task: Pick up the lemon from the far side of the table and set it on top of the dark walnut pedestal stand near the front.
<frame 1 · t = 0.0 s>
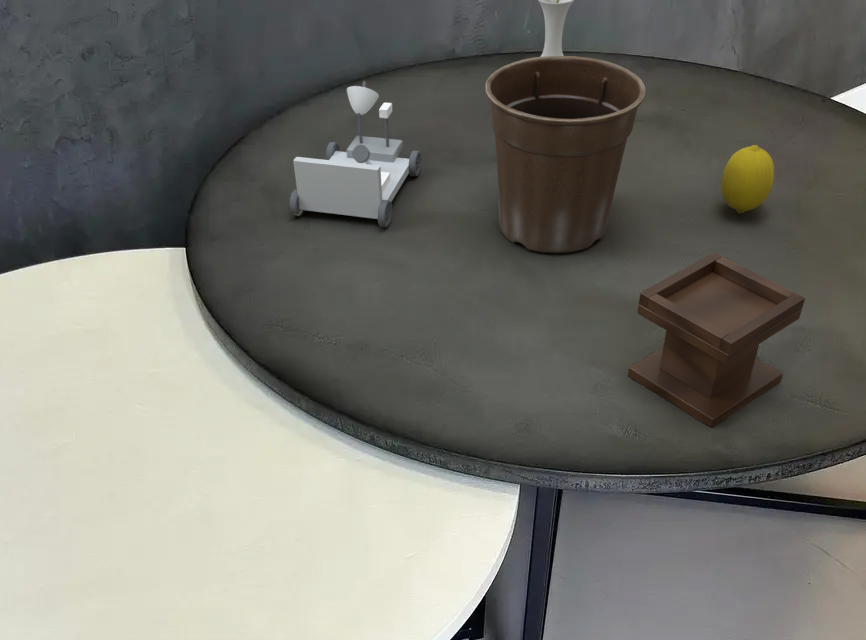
flower in vase: (550, 107, 135), on the table
lemon: (739, 214, 114), on the table
plant pot: (554, 228, 113), on the table
stand: (703, 378, 93), on the table
grey toy rover: (362, 190, 120), on the table
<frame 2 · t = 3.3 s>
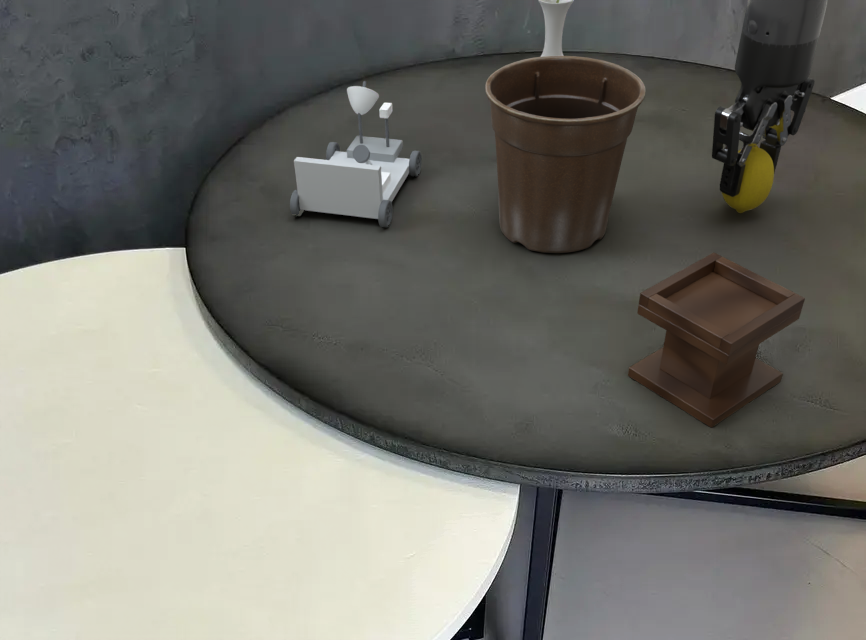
hand: (746, 183, 111), 4 cm above the table, tool pointing down, fingers closed on lemon, 5 cm apart
lemon: (739, 214, 114), on the table, touching gripper
everything else where it was.
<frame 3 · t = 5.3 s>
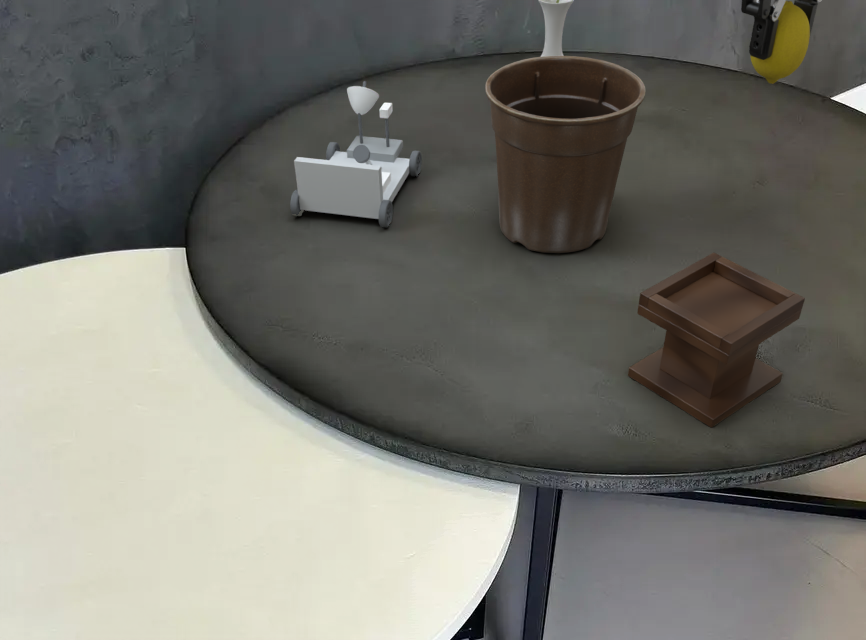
hand: (779, 47, 100), 18 cm above the table, tool pointing down, fingers closed on lemon, 5 cm apart
lemon: (770, 85, 103), point 15 cm above the table, touching gripper
everything else where it was.
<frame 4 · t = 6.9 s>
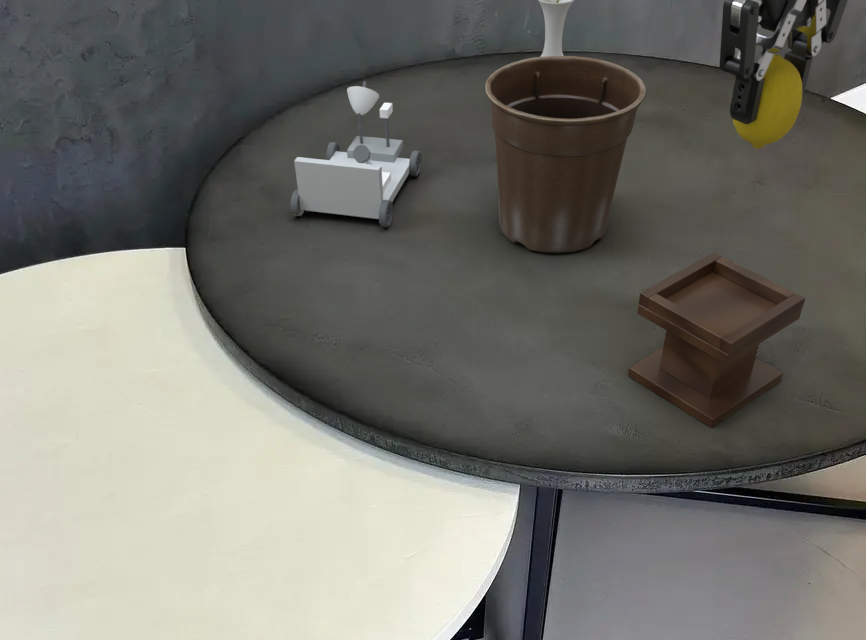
hand: (766, 108, 84), 21 cm above the table, tool pointing down, fingers closed on lemon, 5 cm apart
lemon: (756, 150, 87), point 17 cm above the table, touching gripper
everything else where it was.
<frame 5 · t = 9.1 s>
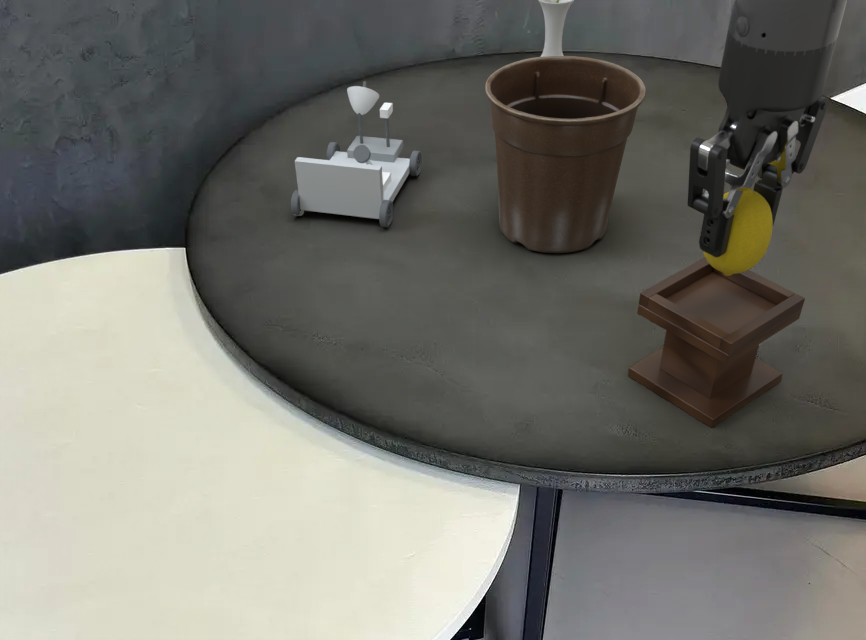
hand: (736, 238, 82), 15 cm above the table, tool pointing down, fingers closed on lemon, 5 cm apart
lemon: (726, 277, 85), point 11 cm above the table, touching gripper
everything else where it was.
when the fingers open (12 cm above the table, at t = 10.7 s): lemon stays where it is, resting on stand.
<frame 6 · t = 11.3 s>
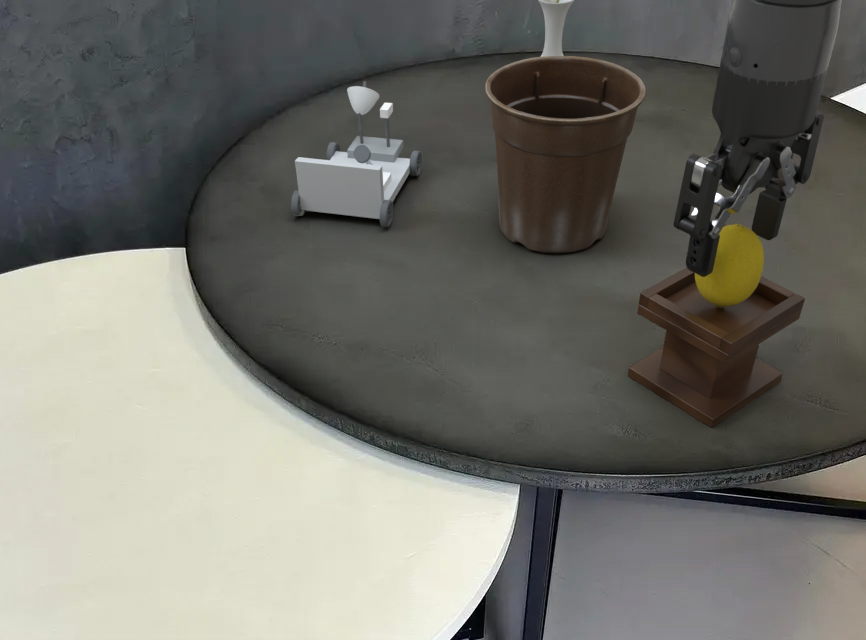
hand: (731, 253, 83), 13 cm above the table, tool pointing down, fingers open, 8 cm apart
lemon: (719, 308, 87), point 8 cm above the table, touching stand
everything else where it was.
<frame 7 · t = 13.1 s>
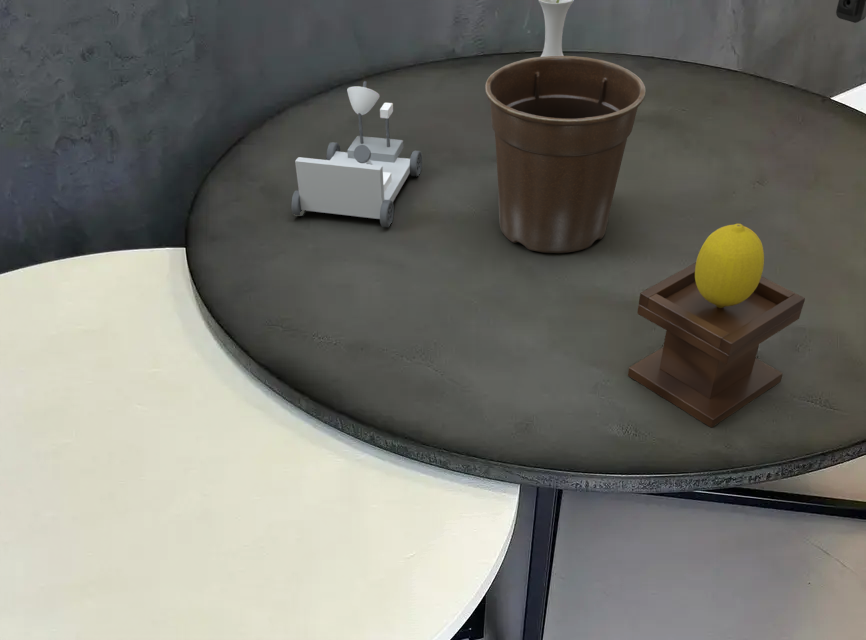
nothing on the table moved.
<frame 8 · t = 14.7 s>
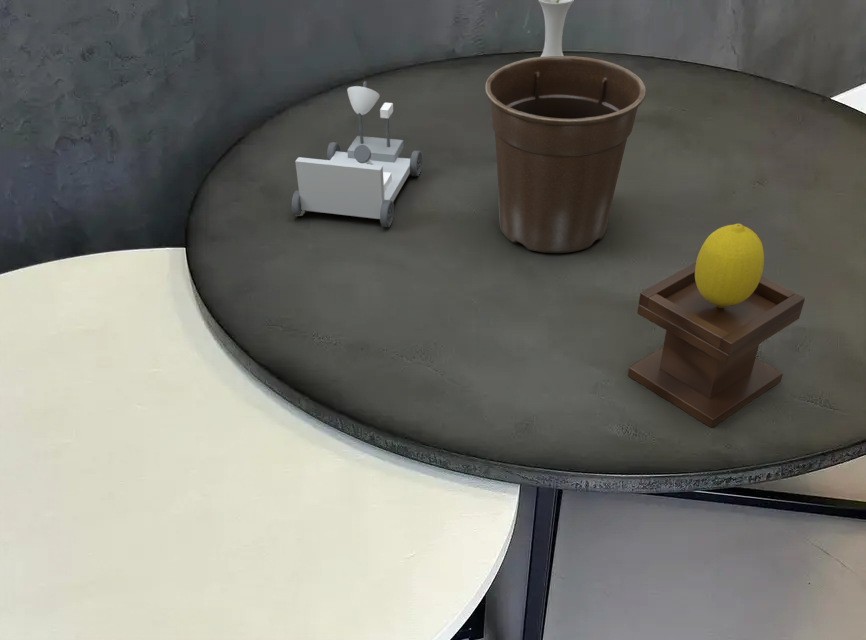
nothing on the table moved.
at the end: lemon 0.0 cm off-centre on the stand, point 7.8 cm above the stand's base; the gripper is holding nothing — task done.
